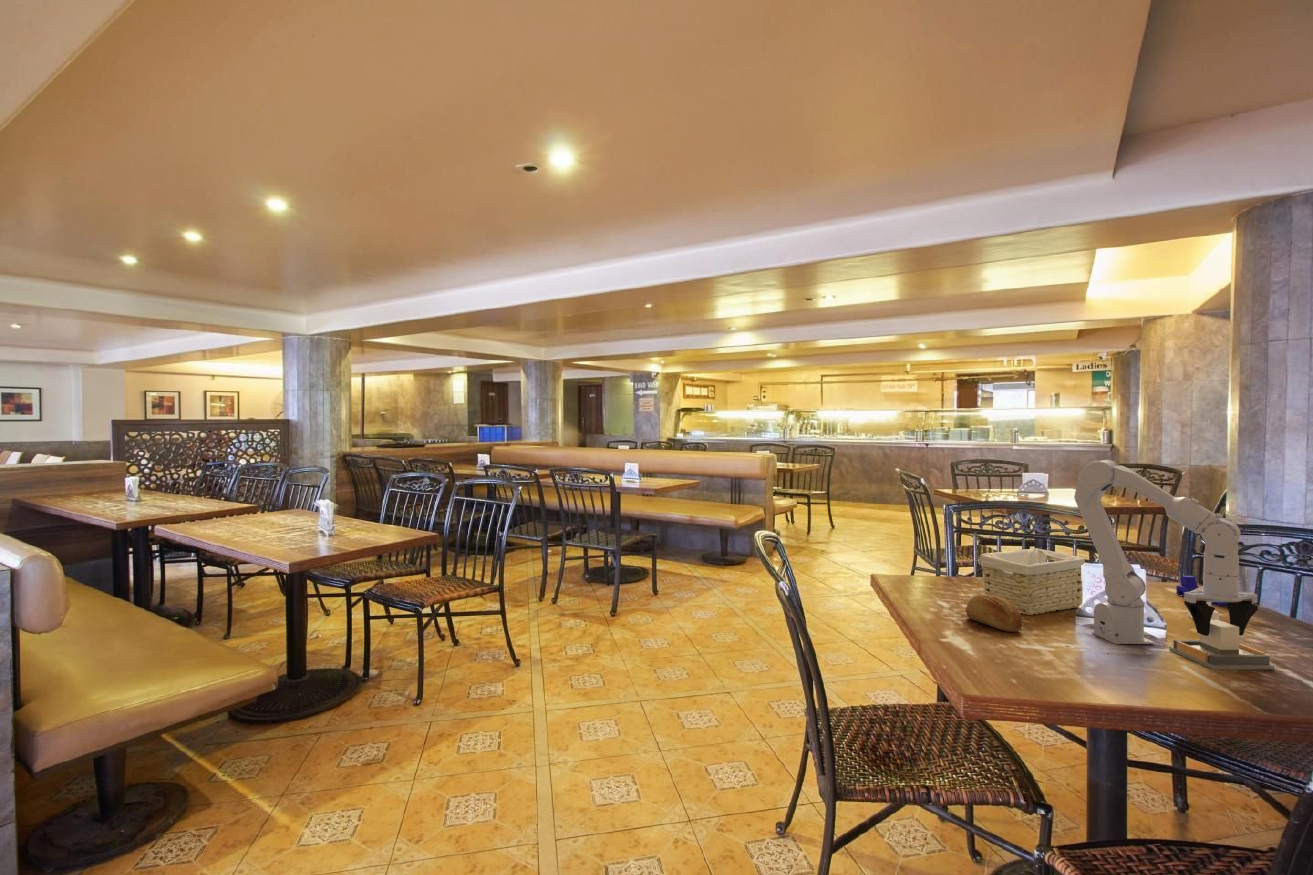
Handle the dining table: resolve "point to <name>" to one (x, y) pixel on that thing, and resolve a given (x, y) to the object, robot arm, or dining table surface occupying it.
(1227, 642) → the block
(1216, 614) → the white angled block
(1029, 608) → the storage basket
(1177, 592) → the cable clip
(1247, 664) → the rail panel
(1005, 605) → the bread roll
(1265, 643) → the dining table surface
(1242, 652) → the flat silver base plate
